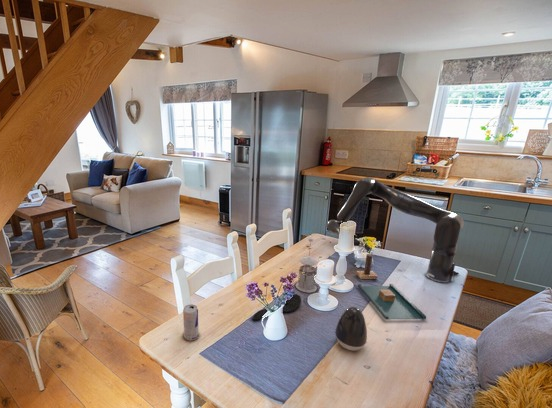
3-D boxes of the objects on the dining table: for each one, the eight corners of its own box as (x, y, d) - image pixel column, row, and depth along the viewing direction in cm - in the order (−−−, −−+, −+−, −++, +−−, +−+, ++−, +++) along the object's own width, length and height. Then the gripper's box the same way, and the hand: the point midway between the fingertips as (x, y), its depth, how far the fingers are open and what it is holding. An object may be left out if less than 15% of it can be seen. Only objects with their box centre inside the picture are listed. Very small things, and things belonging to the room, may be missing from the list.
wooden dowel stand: (355, 276, 155) (359, 252, 151) (371, 276, 155) (375, 252, 151) (360, 281, 150) (364, 257, 147) (376, 281, 150) (380, 257, 147)
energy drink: (200, 332, 116) (200, 305, 113) (195, 342, 111) (194, 314, 108) (187, 329, 118) (186, 302, 114) (181, 339, 113) (180, 311, 110)
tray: (357, 288, 145) (358, 283, 144) (391, 288, 145) (392, 283, 144) (384, 321, 122) (385, 316, 121) (425, 321, 122) (426, 316, 121)
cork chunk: (378, 295, 137) (379, 289, 136) (388, 295, 137) (389, 289, 136) (383, 301, 133) (385, 295, 132) (394, 301, 133) (395, 295, 132)
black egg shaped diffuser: (328, 343, 111) (332, 307, 106) (343, 331, 117) (348, 296, 112) (355, 360, 103) (361, 322, 99) (370, 346, 109) (376, 310, 105)
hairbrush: (247, 308, 126) (292, 288, 137) (247, 316, 127) (291, 295, 138) (259, 320, 119) (306, 298, 130) (259, 328, 120) (305, 305, 132)
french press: (318, 284, 148) (323, 236, 141) (314, 296, 138) (319, 246, 131) (298, 279, 153) (302, 232, 146) (292, 291, 143) (296, 241, 136)
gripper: (335, 230, 172) (347, 242, 157) (361, 230, 172) (375, 242, 157) (334, 242, 174) (346, 255, 159) (359, 242, 174) (373, 255, 159)
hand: (360, 249), depth 158 cm, fingers open, 8 cm apart
